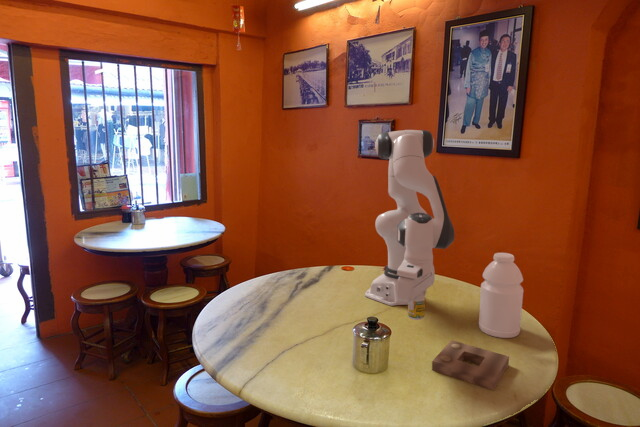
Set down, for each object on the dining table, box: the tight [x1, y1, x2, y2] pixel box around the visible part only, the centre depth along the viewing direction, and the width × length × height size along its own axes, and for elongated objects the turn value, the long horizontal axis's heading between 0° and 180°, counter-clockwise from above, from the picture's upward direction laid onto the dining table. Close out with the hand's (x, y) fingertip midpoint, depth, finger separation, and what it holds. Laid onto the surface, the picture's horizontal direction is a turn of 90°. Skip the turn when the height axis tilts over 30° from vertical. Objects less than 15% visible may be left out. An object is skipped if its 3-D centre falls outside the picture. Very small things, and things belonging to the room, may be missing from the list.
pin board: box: [431, 339, 510, 391], centre depth 133 cm, size 18×16×3 cm
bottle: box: [478, 252, 524, 339], centre depth 155 cm, size 14×14×28 cm
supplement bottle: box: [407, 290, 426, 321], centre depth 141 cm, size 5×5×10 cm
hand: (416, 305), depth 141 cm, fingers closed on supplement bottle, 5 cm apart
